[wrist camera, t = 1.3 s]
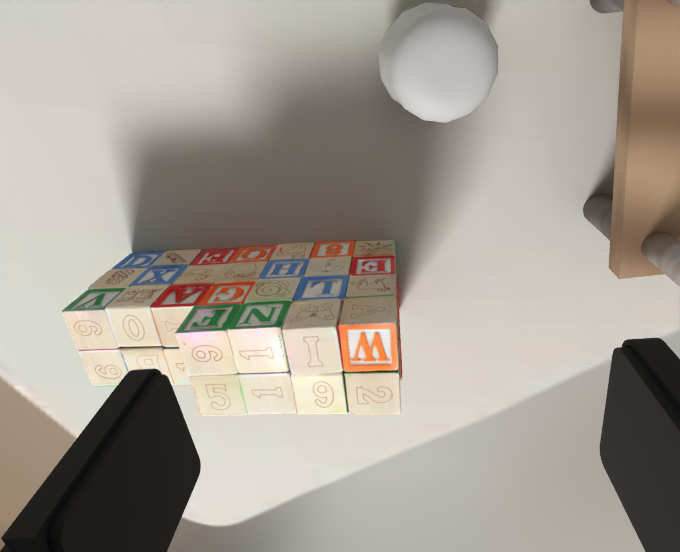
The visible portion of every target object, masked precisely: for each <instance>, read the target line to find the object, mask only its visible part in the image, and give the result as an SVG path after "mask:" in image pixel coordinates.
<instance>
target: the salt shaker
mask: <svg viewBox="0 0 680 552" xmlns="http://www.w3.org/2000/svg"><path fill="white" fill-rule="evenodd" d="M378 59H379V67H380V75H381V80H382V82H383V84H384V85H385V87H386V89H387V91H388V93H389V94H390V96H391V98H392V99H393V100H395V101H397V102H398V103H400V104H401V105H402V106H403V108H405V109H406V110H408V111H409V112H411V113H412V114H414V115H416V116H417V117H419V118H420V119H422V120H426V121H435V122H444V123H447V122H449V121H452V120H455V119H457V118H460V117H463V116H465V115H468V114H470V113H471V112H472V111H473V110H474V109H475V108H476V107H477V106H478V105H479V104H480V103H482V102H483V101H484V100H485V99H486V98H487V97H488V95H489V92H490V90H491V88H492V85H493V83H494V81H495V78H496V76H497V73H498V45H497V43H496V41H495V39H494V37H493V35H492V33H491V31H490V29H489V27H488V25H487V23H486V22H484V21H483V20H482V19H480V18H479V17H477V16H476V15H475V14H473V13H472V12H471V11H469V10H468V9H466V8H457V7H452V6H451V5H449V4H441V3H427V2H425V3H423V4H420V5H418V6H416V7H413V8H411V9H408V10H406V11H404V12H402V13H401V14H400V15H399V17H398V18H397V19H396V20H395V21H394V23H393V24H392V25H391V26H390V27H389V28H388V30H387V31H386V33H385V36H384V39H383V42H382V45H381V48H380V51H379V54H378Z"/></svg>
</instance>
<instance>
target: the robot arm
mask: <svg viewBox="0 0 680 552" xmlns="http://www.w3.org/2000/svg"><path fill="white" fill-rule="evenodd" d="M600 456H601V460H602V463H603V466H604V468H605V470H606V472H607V474H608V476H609V478H610V480H611V482H612V484H613V486H614V488H615V490H616V492H617V494H618V496H619V498H620V500H621V502H622V505H623V507H624V509H625V511H626V513H627V515H628V517H629V519H630V521H631V523H632V525H633V527H634V529H635V531H636V533H637V535H638V537H639V539H640V541H641V543H642V545H643V547H644V549H645V552H680V359H679V358H678V357H677V356H676V354H675V353H674V352H673V351H672V350H671V349H670V348H669V347H668V346H667V344H666V343H665V342H664V341H663V340H662V339H660V338H645V339H629V340H625V341H624V342H623V344H622V347H621V348H615V349H614V351H613V355H612V362H611V369H610V377H609V384H608V391H607V399H606V405H605V413H604V420H603V427H602V434H601V441H600ZM200 466H201V465H200V458H199V456H198V453H197V450H196V448H195V445H194V443H193V440H192V437H191V435H190V432H189V430H188V427H187V424H186V422H185V419H184V417H183V414H182V411H181V409H180V406H179V404H178V401H177V398H176V396H175V393H174V391H173V388H172V385H171V383H170V380H169V378H168V377H167V376H166V375H164V374H163V375H162V373H161V371H159V370H158V369H155V368H154V369H138V370H131V371H129V372H128V373H127V374H126V375H125V376H124V378H123V379H122V380H121V382H120V383H119V384H118V386H117V387H116V388H115V390H114V391H113V392H112V393H111V395H110V396H109V397H108V399H107V400H106V401H105V403H104V404H103V405H102V407H101V408H100V409H99V410H98V412H97V413H96V414H95V416H94V417H93V418H92V420H91V421H90V422H89V424H88V425H87V426H86V428H85V429H84V430H83V431H82V433H81V434H80V435H79V437H78V438H77V439H76V441H75V442H74V443H73V445H72V446H71V447H70V449H69V450H68V451H67V452H66V454H65V455H64V456H63V458H62V459H61V460H60V462H59V463H58V464H57V466H56V467H55V468H54V469H53V471H52V472H51V473H50V475H49V476H48V477H47V479H46V480H45V481H44V483H43V484H42V486H41V487H40V488H39V489H38V490H37V492H36V493H35V494H34V496H33V497H32V498H31V500H30V501H29V502H28V504H27V505H26V506H25V508H24V509H23V510H22V512H21V513H20V514H19V515H18V517H17V518H16V519H15V521H14V522H13V523H12V525H11V526H10V527H9V529H8V530H7V531H6V533H5V534H4V535H3V536H2V538H1V539H2V540H3V542H4V543H5V546H4V547H3V548H2V550H1V551H0V552H167V550H168V547H169V545H170V543H171V540H172V538H173V536H174V533H175V531H176V528H177V526H178V524H179V522H180V519H181V517H182V515H183V512H184V510H185V508H186V505H187V503H188V500H189V498H190V496H191V493H192V491H193V489H194V486H195V484H196V482H197V479H198V477H199V474H200Z"/></svg>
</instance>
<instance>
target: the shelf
mask: <svg viewBox="0 0 680 552" xmlns="http://www.w3.org/2000/svg"><path fill="white" fill-rule="evenodd" d="M590 3H591V6H592V7H593V9H594V10H596V11H597V12H599V13H610V12H617V11H623V26H622V44H621V62H620V79H619V97H618V114H617V132H616V150H615V167H614V185H613V199H612V198H611V197H610V196H608V195H604V194H599V195H595V196H593V197H591V198H590V199H589V200H588V201H587V202H586V203H585V205H584V208H583V213H584V216H585V218H586V219H587V220H588V221H589V222H591V223H592V224H593V225H594V226H595V227H596V228H597V229H598V230H599V231H600V232H601V233H602V234H603V235H604V236H606V237H607V238H608V239H609V240H610V255H609V268H610V270H611V271H612V272H613V273H614V274H615V275H616V276H617V277H618V278H619V279H623V278H632V277H641V276H651V275H660V274H666V275H667V276H668V277H669V278H670V279H672V280H673V281H674V282H675V283H676V284H677V285H679V286H680V0H590Z"/></svg>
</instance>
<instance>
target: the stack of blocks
mask: <svg viewBox="0 0 680 552" xmlns="http://www.w3.org/2000/svg"><path fill="white" fill-rule="evenodd" d="M395 247H396V246H395V240H376V241H332V242H316V243H314V242H310V243H288V244H278V245H277V246H262V247H261V246H257V247H241V248H233V249H213V250H202V249H189V250H170V251H156V252H138V253H131V254H130V255H128V256H127V257H126V258H125V259H123V260H122V261H121V262H120V263H118V264H117V265H116V266H114V267H113V268H112V270H109V271H108V272H106V273H105V274H104V275H103V276H101V277H100V278H99V279H98V280H97V281H95V282H94V283H93V284H92V285H90V286H89V287H88V290H87V291H86V292H84V293H83V294H82V295H81V296H80V297H78V298H77V299H76V300H75V301H73V302H72V303H71V304H70V305H68V306H67V307H66V308H65V309H64V310H63V311H62V314H63V316H64V319H65V321H66V324H67V326H68V329H69V331H70V334H71V336H72V339H73V341H74V344H75V346H76V349H78V350H79V353H80V356H81V359H82V361H83V364H84V366H85V369H86V371H87V373H88V376H89V378H90V381H91V383H92V385H93V386H96V387H98V386H118V384H119V383H120V382H121V380H122V379H123V378H124V376H125V375H126V374H127V373H128V372H129V371H131V370H138V369H154V368H155V369H158V370H159V371H161V373H162V375H163V374H164V375H166V376H167V377H168V378H169V380H170V383H171V385H180V386H181V385H192V386H193V389H194V393H195V396H196V399H197V403H198V407H199V411H200V414H201V415H202V416H222V415H247V414H293V413H298V414H346V413H348V412H349V413H350V414H353V415H396V414H400V413H401V399H400V380H402V358H401V340H400V323H399V322H400V321H399V297H398V278H397V270H396V248H395Z"/></svg>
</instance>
